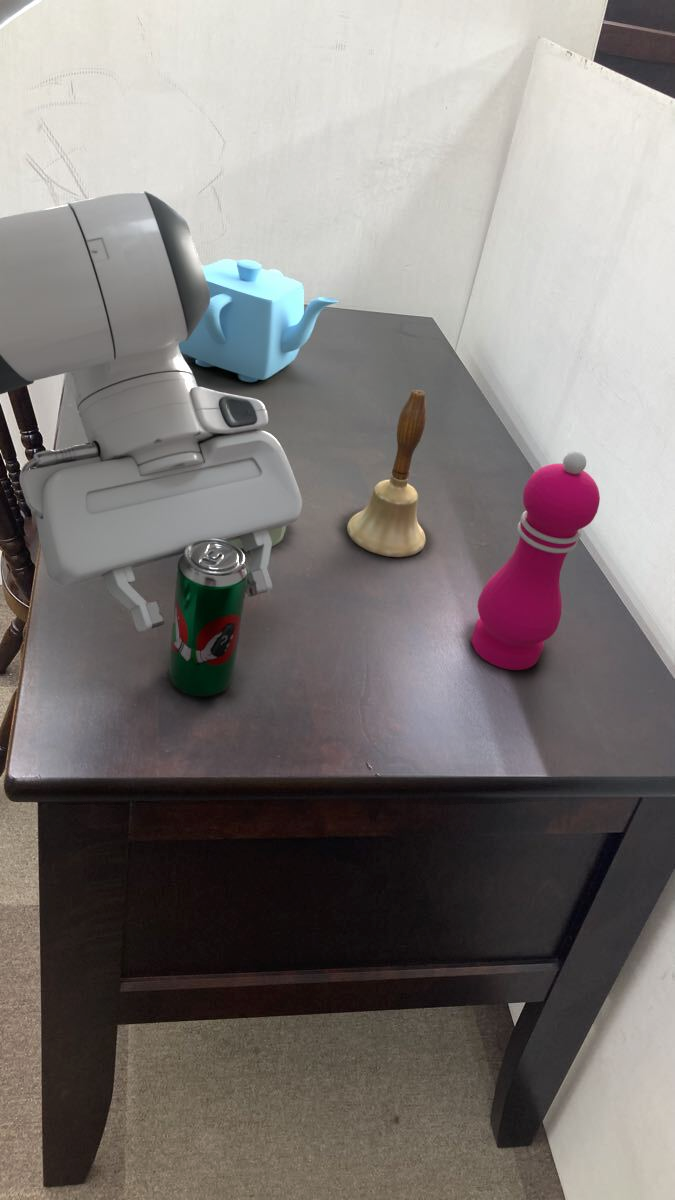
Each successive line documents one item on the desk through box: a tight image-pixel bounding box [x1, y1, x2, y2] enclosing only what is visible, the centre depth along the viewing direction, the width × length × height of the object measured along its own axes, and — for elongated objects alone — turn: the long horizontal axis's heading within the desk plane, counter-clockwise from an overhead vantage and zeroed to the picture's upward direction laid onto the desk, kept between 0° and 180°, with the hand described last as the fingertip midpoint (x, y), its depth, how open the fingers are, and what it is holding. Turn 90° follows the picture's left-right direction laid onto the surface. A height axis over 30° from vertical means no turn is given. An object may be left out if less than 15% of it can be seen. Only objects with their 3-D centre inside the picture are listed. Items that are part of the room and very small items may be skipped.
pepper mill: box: [471, 450, 601, 671], centre depth 75 cm, size 7×7×20 cm
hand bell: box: [346, 389, 427, 558], centre depth 88 cm, size 8×8×16 cm
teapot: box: [178, 258, 339, 383], centre depth 117 cm, size 18×16×14 cm
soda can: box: [168, 538, 249, 698], centre depth 67 cm, size 5×5×12 cm
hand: (208, 610), depth 66 cm, fingers open, 8 cm apart
